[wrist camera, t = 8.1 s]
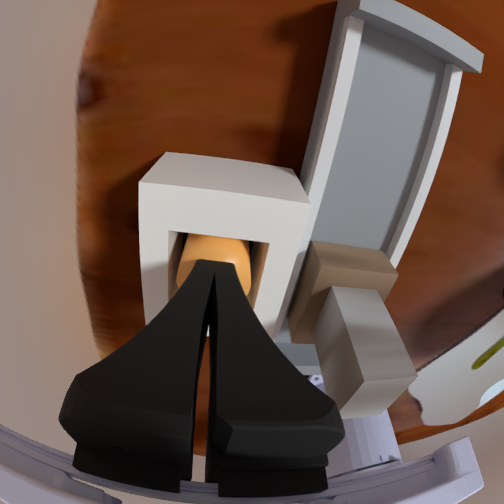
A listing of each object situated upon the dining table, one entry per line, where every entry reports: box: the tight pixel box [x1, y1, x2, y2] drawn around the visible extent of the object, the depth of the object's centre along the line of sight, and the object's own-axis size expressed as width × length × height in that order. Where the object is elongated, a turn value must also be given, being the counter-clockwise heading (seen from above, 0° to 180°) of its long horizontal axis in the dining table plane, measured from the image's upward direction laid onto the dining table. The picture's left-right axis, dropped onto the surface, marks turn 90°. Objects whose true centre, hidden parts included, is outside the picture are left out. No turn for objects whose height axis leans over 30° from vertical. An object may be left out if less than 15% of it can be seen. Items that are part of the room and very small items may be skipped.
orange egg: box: [176, 233, 251, 296], centre depth 13 cm, size 3×3×4 cm
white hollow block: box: [139, 152, 312, 337], centre depth 13 cm, size 7×6×4 cm
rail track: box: [271, 0, 484, 375], centre depth 13 cm, size 20×6×3 cm, turn 170°
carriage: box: [287, 241, 418, 419], centre depth 12 cm, size 5×4×7 cm
